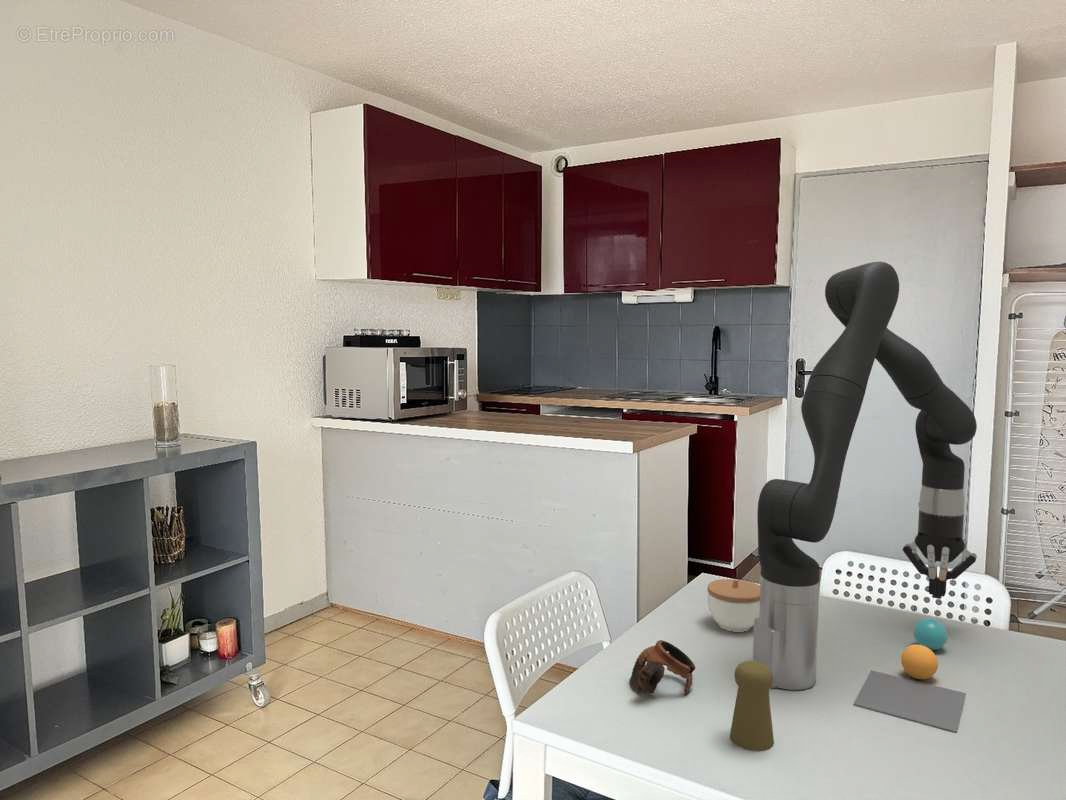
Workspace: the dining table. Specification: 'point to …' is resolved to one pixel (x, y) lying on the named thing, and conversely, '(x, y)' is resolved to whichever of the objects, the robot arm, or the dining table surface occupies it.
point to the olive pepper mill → (752, 707)
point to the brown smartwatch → (660, 667)
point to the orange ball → (919, 662)
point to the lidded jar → (734, 603)
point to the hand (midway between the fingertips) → (936, 597)
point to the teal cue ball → (930, 634)
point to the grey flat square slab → (912, 700)
